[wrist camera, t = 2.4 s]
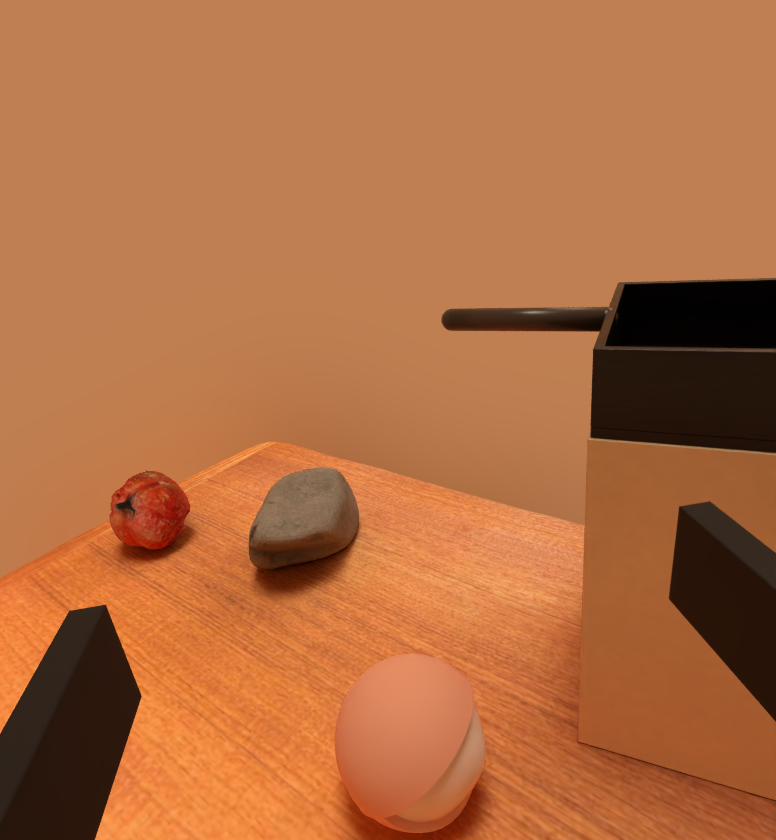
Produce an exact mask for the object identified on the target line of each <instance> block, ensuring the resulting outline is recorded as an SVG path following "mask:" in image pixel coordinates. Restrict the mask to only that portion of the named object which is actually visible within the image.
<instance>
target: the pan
mask: <svg viewBox="0 0 776 840" xmlns="http://www.w3.org/2000/svg"><path fill="white" fill-rule="evenodd" d="M442 324H443V326H444V327H445V328H446V329H447V330H452V331H600V333H599V335H598V338H597V341H596V343H595V346H594V349H593V371H592V400H591V401H592V402H591V430H590V437H591V438H600V439H612V440H625V441H637V442H650V443H662V444H674V445H687V446H699V447H711V448H724V449H736V450H749V451H761V452H773V453H776V278H760V279H728V280H727V279H726V280H692V281H656V282H621V283H618V285H617V287H616V290H615V293H614V295H613V298H612V301H611V303H610V306H609V307H568V308H567V307H566V308H565V307H564V308H563V307H562V308H481V309H479V308H478V309H449V310H447V311H446V312H445V313H444V314H443V316H442Z"/></svg>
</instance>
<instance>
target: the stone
mask: <svg viewBox="0 0 776 840" xmlns="http://www.w3.org/2000/svg"><path fill="white" fill-rule="evenodd" d="M358 524H359V511H358V507H357V503H356V500H355V497H354V495H353V492H352V490H351V488H350V486H349V484H348V482H347V481H346V479H345V478H344V476H343V475H342V474H341V473H340V472H339V471H337V470H335V469H332V468H313V469H308V470H303V471H299V472H295V473H292V474H289V475H287V476H285V477H283V478H282V479H280V480H279V481H278V482H277V483H276V484H275V485H274V486H273V487H272V488H271V489H270V491H269V492H268V494H267V496H266V498H265V500H264V502H263V505H262V507H261V508H260V510H259V512H258V514H257V516H256V518H255V520H254V522H253V525H252V526H251V530H250V535H249V536H250V537H249V556H250V560H251V562H252V563H253V564H254V566H256V567H257V568H261V569H270V570H273V569H276V568H279V567H283V566H285V565H297V564H302V563H305V562H307V561H309V562H311V561H312V560H315V559H316V560H318V559H322V558H325V557H327V556H329V555H332V554H334V553H336V552H338V551H340V550H342V549H344V548H345V547H346V546H348V545H349V544H350V542H351V541H352V540H353V538H354V536H355V534H356V531H357V528H358Z"/></svg>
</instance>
